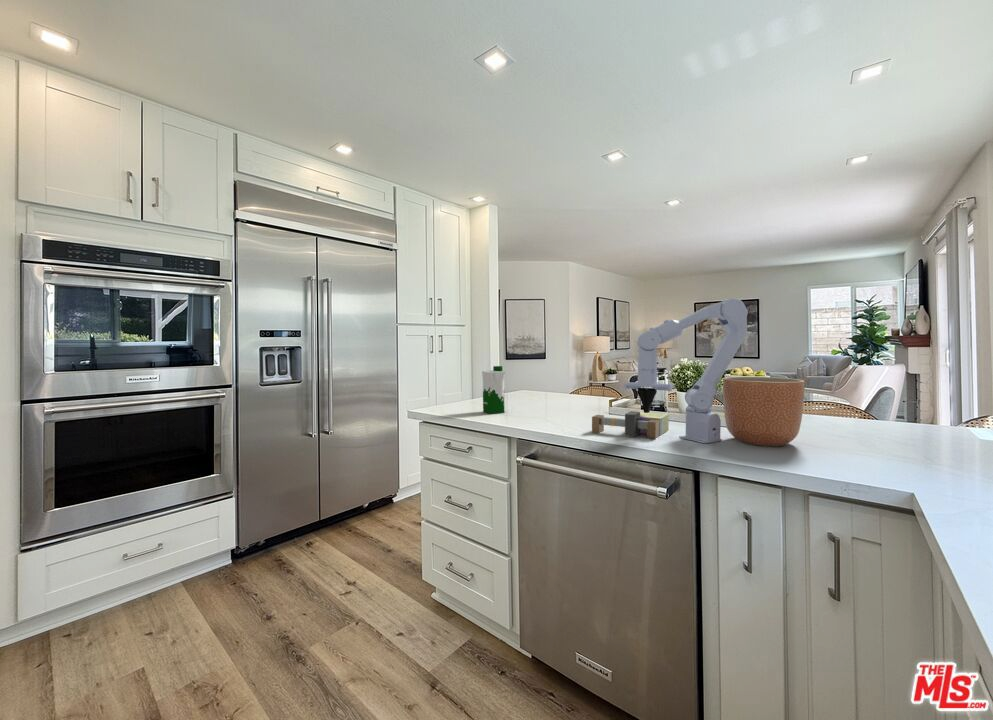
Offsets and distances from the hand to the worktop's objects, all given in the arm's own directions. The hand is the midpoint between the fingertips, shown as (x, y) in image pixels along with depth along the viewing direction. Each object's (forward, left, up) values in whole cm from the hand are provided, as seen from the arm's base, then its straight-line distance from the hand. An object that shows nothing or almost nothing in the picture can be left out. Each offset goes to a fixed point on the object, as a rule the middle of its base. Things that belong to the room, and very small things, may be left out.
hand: (646, 412), depth 138 cm
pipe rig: (+6, +3, -8) cm, 10 cm away
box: (+9, -13, -5) cm, 17 cm away
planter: (-22, -24, -8) cm, 34 cm away
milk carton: (+68, +19, -8) cm, 71 cm away
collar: (+4, +2, -8) cm, 9 cm away
